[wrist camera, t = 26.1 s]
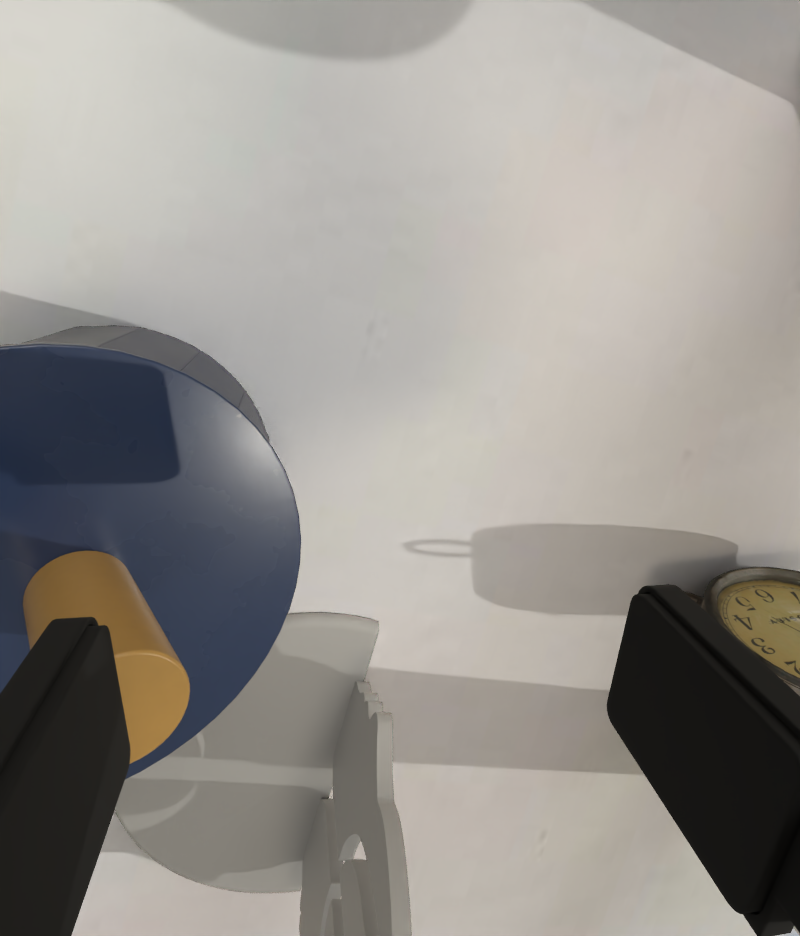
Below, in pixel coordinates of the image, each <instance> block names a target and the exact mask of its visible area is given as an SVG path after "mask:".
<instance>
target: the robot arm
mask: <svg viewBox="0 0 800 936" xmlns="http://www.w3.org/2000/svg"><path fill="white" fill-rule="evenodd" d="M607 712H608V716H609V719H610V721H611V723H612V725H613V727H614V728H615V730H616V731H617V733H618V734H619V736H620V737H621V739H622V740H623V742H624V744H625V745H626V747H627V748H628V750H629V751H630V753H631V754H632V756H633V757H634V759H635V761H636V762H637V764H638V765H639V767H640V768H641V770H642V771H643V773H644V774H645V776H646V777H647V779H648V781H649V782H650V784H651V785H652V787H653V788H654V790H655V791H656V793H657V794H658V796H659V798H660V799H661V801H662V802H663V804H664V805H665V807H666V808H667V810H668V811H669V813H670V815H671V816H672V818H673V819H674V821H675V822H676V824H677V825H678V827H679V828H680V830H681V831H682V833H683V835H684V836H685V838H686V839H687V841H688V842H689V844H690V845H691V847H692V848H693V850H694V852H695V853H696V855H697V856H698V858H699V859H700V861H701V862H702V864H703V865H704V867H705V869H706V870H707V872H708V873H709V875H710V876H711V878H712V879H713V881H714V882H715V884H716V885H717V887H718V889H719V890H720V892H721V893H722V895H723V896H724V898H725V899H726V901H727V902H728V904H729V905H730V906H731V907H732V908H733V909H734V910H735V911H736V912H738V913H740V914H743V915H744V917H745V918H746V920H747V921H748V923H749V924H750V926H751V927H752V929H753V930H754V932H755V933H756V935H757V936H775V935H780V934H786V933H791V931H792V929H793V927H794V926H795V927H796V929H797V930H798V932H799V933H800V696H799V695H798V694H797V693H796V692H795V691H794V690H793V689H791V688H790V687H789V686H788V685H787V684H786V683H785V682H784V681H783V680H781V679H780V678H779V677H778V676H777V675H776V674H775V673H774V672H773V671H771V670H770V669H769V668H768V667H767V666H766V665H765V664H764V663H763V662H761V661H760V660H759V659H758V658H757V657H756V656H755V655H754V654H753V653H751V652H750V651H749V650H748V649H747V648H746V647H745V646H744V645H743V644H741V643H740V642H739V641H738V640H737V639H736V638H735V637H734V636H732V635H731V634H730V633H729V632H728V631H727V630H726V629H725V628H724V627H722V626H721V625H720V624H719V623H718V622H717V621H716V620H715V619H714V618H712V617H711V616H710V615H709V614H708V613H707V612H706V611H705V610H704V609H702V608H701V607H700V606H699V605H698V604H697V603H696V602H695V601H694V600H692V599H691V598H690V597H689V596H688V595H687V594H686V593H685V592H683V591H682V590H681V589H680V588H679V587H677V586H676V585H656V586H645V587H642V588H641V589H640V591H639V593H638V594H637V595H634V596H633V598H632V600H631V603H630V607H629V611H628V616H627V620H626V624H625V628H624V633H623V637H622V641H621V645H620V650H619V654H618V658H617V662H616V667H615V671H614V675H613V680H612V684H611V688H610V692H609V697H608V701H607ZM130 752H131V750H130V742H129V736H128V731H127V725H126V720H125V714H124V708H123V703H122V697H121V692H120V686H119V680H118V675H117V669H116V663H115V658H114V652H113V647H112V641H111V635H110V631H109V628H108V626H106V625H98V623H97V621H96V619H95V618H94V617H78V618H60V619H54V620H52V621H51V622H50V623H49V624H48V626H47V627H46V629H45V630H44V632H43V633H42V634H41V636H40V637H39V639H38V640H37V642H36V643H35V644H34V646H33V647H32V649H31V650H30V652H29V653H28V655H27V656H26V657H25V659H24V660H23V662H22V663H21V665H20V666H19V667H18V669H17V670H16V672H15V673H14V675H13V676H12V678H11V679H10V680H9V682H8V683H7V685H6V686H5V688H4V689H3V691H2V692H1V693H0V936H71V935H72V932H73V929H74V926H75V923H76V920H77V917H78V914H79V911H80V908H81V906H82V903H83V900H84V897H85V894H86V891H87V888H88V885H89V882H90V879H91V877H92V874H93V871H94V868H95V865H96V862H97V859H98V856H99V853H100V850H101V848H102V845H103V842H104V839H105V836H106V833H107V830H108V827H109V824H110V821H111V819H112V816H113V813H114V810H115V807H116V804H117V801H118V798H119V795H120V792H121V790H122V787H123V784H124V781H125V778H126V775H127V772H128V768H129V763H130Z"/></svg>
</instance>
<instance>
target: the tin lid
mask: <svg viewBox="0 0 800 936" xmlns="http://www.w3.org/2000/svg"><path fill="white" fill-rule="evenodd" d="M300 549H301V534H300V524H299V514H298V510H297V506H296V501H295V497H294V493H293V490H292V487H291V484H290V482H289V479H288V477H287V474H286V471H285V469H284V467H283V465H282V464H281V462H280V460H279V458H278V456H277V455H276V453H275V451H274V449H273V447H272V446H271V445H270V443H269V442H268V441H267V439H266V438H265V437H264V435H263V434H262V433H261V431H260V430H259V429H258V428H257V426H256V425H255V424H254V423H253V422H252V421H251V420H250V419H249V418H248V417H247V416H246V415H245V414H244V413H243V412H242V411H241V410H240V409H239V408H238V407H236V406H235V405H234V404H232V403H231V402H230V401H229V400H227V399H226V398H225V397H223V396H222V395H221V394H219V393H218V392H217V391H215V390H214V389H212V388H211V387H209V386H207V385H205V384H204V383H202V382H200V381H198V380H197V379H195V378H193V377H191V376H190V375H188V374H186V373H183V372H181V371H179V370H176V369H174V368H171V367H169V366H167V365H164V364H162V363H159V362H157V361H154V360H152V359H148V358H145V357H141V356H137V355H134V354H130V353H127V352H123V351H120V350H115V349H109V348H102V347H96V346H90V345H83V344H70V343H46V342H34V343H20V344H6V345H0V693H1V692H2V691H3V689H4V688H5V686H6V685H7V683H8V682H9V680H10V679H11V678H12V676H13V675H14V673H15V672H16V670H17V669H18V667H19V666H20V665H21V663H22V662H23V660H24V659H25V657H26V656H27V655H28V653H29V652H30V650H31V649H32V647H33V646H34V644H35V643H36V642H37V640H38V639H39V637H40V636H41V634H42V633H43V632H44V630H45V629H46V627H47V626H48V624H49V623H50V622H51V621H52V620H54V619H60V618H78V617H94V618H95V619H96V621H97V623H98V625H106V626H108V628H109V631H110V635H111V641H112V647H113V652H114V658H115V663H116V669H117V675H118V680H119V686H120V692H121V697H122V703H123V708H124V714H125V720H126V725H127V731H128V736H129V742H130V750H131V752H130V763H129V768H128V772H127V775H126V778H125V779H127V778H129V777H131V776H133V775H135V774H137V773H139V772H141V771H143V770H145V769H146V768H148V767H150V766H151V765H153V764H155V763H156V762H158V761H160V760H161V759H163V758H165V757H166V756H168V755H169V754H171V753H172V752H174V751H175V750H176V749H178V748H179V747H180V746H182V745H183V744H185V743H186V742H187V741H189V740H190V739H192V738H193V737H194V736H195V735H197V734H198V733H199V732H200V731H201V730H202V729H204V728H205V727H206V726H207V725H208V724H209V723H211V722H212V721H213V720H214V719H215V718H216V717H217V716H218V715H219V714H220V713H221V712H222V711H223V710H224V709H225V708H226V707H227V706H228V705H229V704H230V703H231V702H232V701H233V700H234V699H235V698H236V697H237V696H238V694H239V693H240V692H241V691H242V689H243V688H244V687H245V686H246V685H247V683H248V682H249V681H250V680H251V678H252V677H253V676H254V674H255V673H256V672H257V670H258V669H259V667H260V666H261V664H262V663H263V661H264V660H265V658H266V657H267V655H268V654H269V652H270V650H271V648H272V646H273V644H274V642H275V640H276V639H277V637H278V635H279V633H280V631H281V629H282V626H283V624H284V621H285V619H286V616H287V614H288V611H289V609H290V606H291V602H292V599H293V595H294V592H295V588H296V584H297V578H298V571H299V565H300Z"/></svg>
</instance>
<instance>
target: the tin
mask: <svg viewBox="0 0 800 936" xmlns="http://www.w3.org/2000/svg"><path fill="white" fill-rule="evenodd" d="M34 342H46V343H70V344H83V345H90V346H96V347H102V348H109V349H115V350H120V351H123V352H127V353H130V354H134V355H137V356H141V357H145V358H148V359H152V360H154V361H157V362H159V363H162V364H164V365H167V366H169V367H171V368H174V369H176V370H179V371H181V372H183V373H186V374H188V375H190V376H191V377H193V378H195V379H197V380H198V381H200V382H202V383H204V384H205V385H207V386H209V387H211V388H212V389H214V390H215V391H217V392H218V393H219V394H221V395H222V396H223V397H225V398H226V399H227V400H229V401H230V402H231V403H232V404H234V405H235V406H236V407H238V408H239V409H240V410H241V411H242V412H243V413H244V414H245V415H246V416H247V417H248V418H249V419H250V420H251V421H252V422H253V423H254V424H255V425H256V426H257V428H258V429H259V430H260V431H261V433H262V434H263V435H264V437H265V438H266V439H267V441H268V442H269V436H268V434H267V432H266V430H265V427H264V424H263V422H262V419H261V417H260V415H259V412H258V410H257V409H256V407H255V405H254V403H253V402H252V400H251V398H250V397H249V395H248V394H247V392H246V391H245V390H244V388H243V387H242V386H241V385H240V383H239V382H238V381H237V380H236V379H235V378H234V377H233V376H232V375H231V374H230V373H229V372H228V371H227V370H226V369H225V368H224V367H223V366H221V365H220V364H219V363H218V362H216V361H215V360H214V359H213V358H211V357H210V356H208V355H207V354H205V353H204V352H202V351H200V350H199V349H197V348H195V347H194V346H192V345H190V344H188V343H186V342H183V341H181V340H179V339H177V338H175V337H172V336H169V335H166V334H163V333H160V332H157V331H153V330H148V329H146V328H141V327H129V326H116V325H111V326H79V327H74V328H71V329H68V330H64V331H61V332H58V333H54V334H51V335H48V336H44V337H41V338H38V339H34V340H31V341H28V342H24V343H34ZM269 443H270V442H269Z"/></svg>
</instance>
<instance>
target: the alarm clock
mask: <svg viewBox="0 0 800 936" xmlns="http://www.w3.org/2000/svg"><path fill="white" fill-rule="evenodd" d="M668 585H669V584H668ZM683 592H684V591H683ZM685 593H686V594H687V595H688V596H689V597H690V598H691V599H692V600H694V601H695V602H696V603H697V604H698V605H699V606H700V607H701V608H702V609H704V610H705V611H706V612H707V613H708V614H709V615H710V616H711V617H712V618H714V619H715V620H716V621H717V622H718V623H719V624H720V625H721V626H722V627H724V628H725V629H726V630H727V631H728V632H729V633H730V634H731V635H732V636H734V637H735V638H736V639H737V640H738V641H739V642H740V643H741V644H743V645H744V646H745V647H746V648H747V649H748V650H749V651H750V652H751V653H753V654H754V655H755V656H756V657H757V658H758V659H759V660H760V661H761V662H763V663H764V664H765V665H766V666H767V667H768V668H769V669H770V670H771V671H773V672H774V673H775V674H776V675H777V676H778V677H779V678H780V679H781V680H783V681H784V682H785V683H786V684H787V685H788V686H789V687H790V688H791V689H793V690H794V691H795V692H796V693H797V694H798V695H799V696H800V572H799V571H794V570H787V569H780V568H771V567H750V568H742V569H737V570H733V571H729V572H726V573H724V574H721V575H719V576H718V577H716V578H714V579H713V580H712V581H711V582H710V583H709V585H708V586H707V588H706V590H705V594H704V597H700V596H697V595H695V594H692V593H688V592H685Z"/></svg>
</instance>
